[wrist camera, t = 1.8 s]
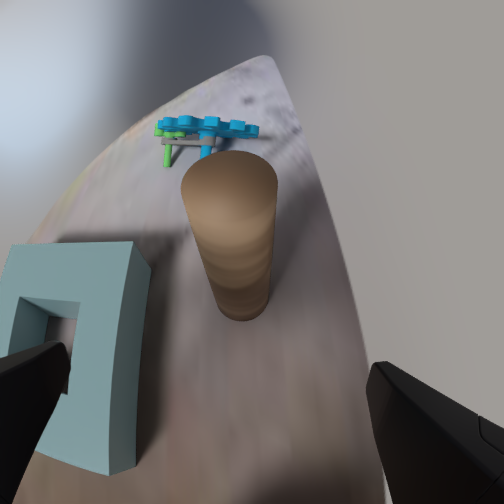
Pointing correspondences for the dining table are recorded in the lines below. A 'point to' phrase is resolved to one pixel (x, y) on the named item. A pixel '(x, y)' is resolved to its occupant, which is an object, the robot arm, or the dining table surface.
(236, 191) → the peg
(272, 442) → the dining table surface
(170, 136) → the gear
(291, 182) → the dining table surface
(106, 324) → the housing
